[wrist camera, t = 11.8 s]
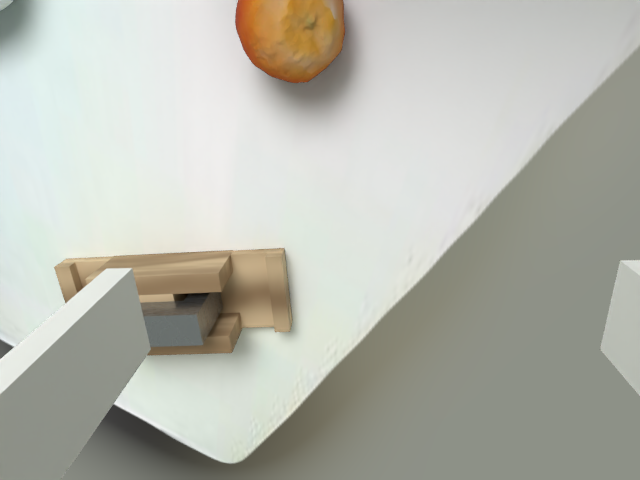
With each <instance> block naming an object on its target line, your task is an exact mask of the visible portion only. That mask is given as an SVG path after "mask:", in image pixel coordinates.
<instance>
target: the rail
mask: <svg viewBox="0 0 640 480" xmlns="http://www.w3.org/2000/svg"><path fill="white" fill-rule="evenodd" d="M54 268H55V271H56V274H57V278H58V281H59V284H60V287H61V290H62V294H63V297H64V300H65V303H67V302H68V301H69V300H70V299H71V298H72V297H74V296H75V295H76V294H77V293H78V292H79V291H81V290H82V289H83V288H84V287H85V286H86V285H88V284H89V283H90V282H91V281H92V280H93V279H95V278H96V277H97V276H98V275H99V274H100V273H102V272H103V271H104V270H105V269H106V268H132V269H133V274H134V278H135V282H136V287H137V291H138V295H139V300H140V303H143V302H168V301H184V300H185V298H186V297H187V296H188V294H189V293H208V292H220V293H221V299H222V305H223V308H222V310H221V312H220V314H219V316H218V318H217V319H216V321H215V323H214V325H213V327H212V329H211V331H210V333H209V335H208V336H207V338H206V340H205V342H204V344H203V345H196V346H165V347H151V350H150V351H149V353H148V354H147V355H176V354H210V353H232V352H233V349H234V347H235V345H236V342H237V340H238V337H239V335H240V332H241V330H242V328H250V327H274V329H275V332H290V329H291V325H292V313H291V304H290V295H289V286H288V277H287V269H286V260H285V251H284V248H279V249H258V250H238V251H233V250H228V251H208V252H187V253H167V254H147V255H126V256H114V257H95V258H75V259H66V260H64V261H63V262H61V263H60V264H58V265H57V266H55V267H54Z"/></svg>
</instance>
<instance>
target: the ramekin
mask: <svg viewBox="0 0 640 480" xmlns="http://www.w3.org/2000/svg"><path fill="white" fill-rule="evenodd" d="M12 2H13V0H0V10H3V9H4V8H6V7H7V6H9V5H10V4H11V3H12Z"/></svg>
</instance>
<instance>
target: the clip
mask: <svg viewBox="0 0 640 480" xmlns="http://www.w3.org/2000/svg"><path fill="white" fill-rule="evenodd" d="M140 304H141V308H142V313H143V317H144V321H145V326H146V330H147V334H148V339H149V343H150V347H165V346H196V345H203V344H204V342H205V340H206V338H207V336H208V335H209V333H210V331H211V329H212V327H213V325H214V323H215V321H216V319H217V318H218V316H219V314H220V312H221V310H222V308H223V305H222V299H221V293H220V292H208V293H189V294H188V296H187V297H186V298H185V300H184V301H168V302H143V303H140Z"/></svg>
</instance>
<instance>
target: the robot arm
mask: <svg viewBox="0 0 640 480" xmlns="http://www.w3.org/2000/svg"><path fill="white" fill-rule="evenodd" d="M150 350H151V347H150V343H149V339H148V334H147V330H146V326H145V321H144V317H143V313H142V308H141V304H140V300H139V295H138V291H137V287H136V282H135V278H134V274H133V269H132V268H106V269H105V270H104V271H103V272H102V273H100V274H99V275H98V276H97V277H96V278H95V279H93V280H92V281H91V282H90V283H89V284H88V285H86V286H85V287H84V288H83V289H82V290H81V291H79V292H78V293H77V294H76V295H75V296H74V297H72V298H71V299H70V300H69V301H68V302H67V303H65V304H64V305H63V306H62V307H61V308H60V309H58V310H57V311H56V312H55V313H54V314H53V315H51V316H50V317H49V318H48V319H47V320H46V321H44V322H43V323H42V324H41V325H40V326H39V327H37V328H36V329H35V330H34V331H33V332H32V333H30V334H29V335H28V336H27V337H26V338H25V339H23V340H22V341H21V342H20V343H19V344H18V345H16V346H15V347H14V348H13V349H12V350H11V351H9V353H7V354H6V355H5V356H4V357H3V358H1V359H0V480H61V479H62V477H63V476H64V474H65V473H66V472H67V470H68V469H69V467H70V466H71V464H72V463H73V461H74V460H75V458H76V457H77V455H78V454H79V453H80V451H81V450H82V448H83V447H84V446H85V444H86V443H87V441H88V440H89V438H90V437H91V435H92V434H93V432H94V431H95V430H96V428H97V427H98V425H99V424H100V422H101V421H102V419H103V418H104V417H105V415H106V414H107V412H108V411H109V409H110V408H111V406H112V405H113V404H114V402H115V401H116V399H117V398H118V396H119V395H120V393H121V392H122V390H123V389H124V388H125V386H126V385H127V383H128V382H129V380H130V379H131V377H132V376H133V375H134V373H135V372H136V370H137V369H138V367H139V366H140V364H141V363H142V362H143V360H144V359H145V357H146V356H147V354H148V353H149V351H150ZM600 350H601V351H602V352H603V353H604V354H605V356H606V357H607V358H608V359H609V360H610V362H611V363H612V364H613V365H614V366H615V367H616V369H617V370H618V371H619V372H620V373H621V374H622V376H623V377H624V378H625V379H626V380H627V382H628V383H629V384H630V385H631V386H632V387H633V389H634V390H635V391H636V392H637V393H638V395H639V396H640V260H623V261H620V263H619V267H618V272H617V276H616V281H615V285H614V290H613V294H612V299H611V303H610V307H609V312H608V316H607V321H606V326H605V330H604V334H603V339H602V343H601V348H600Z"/></svg>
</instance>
